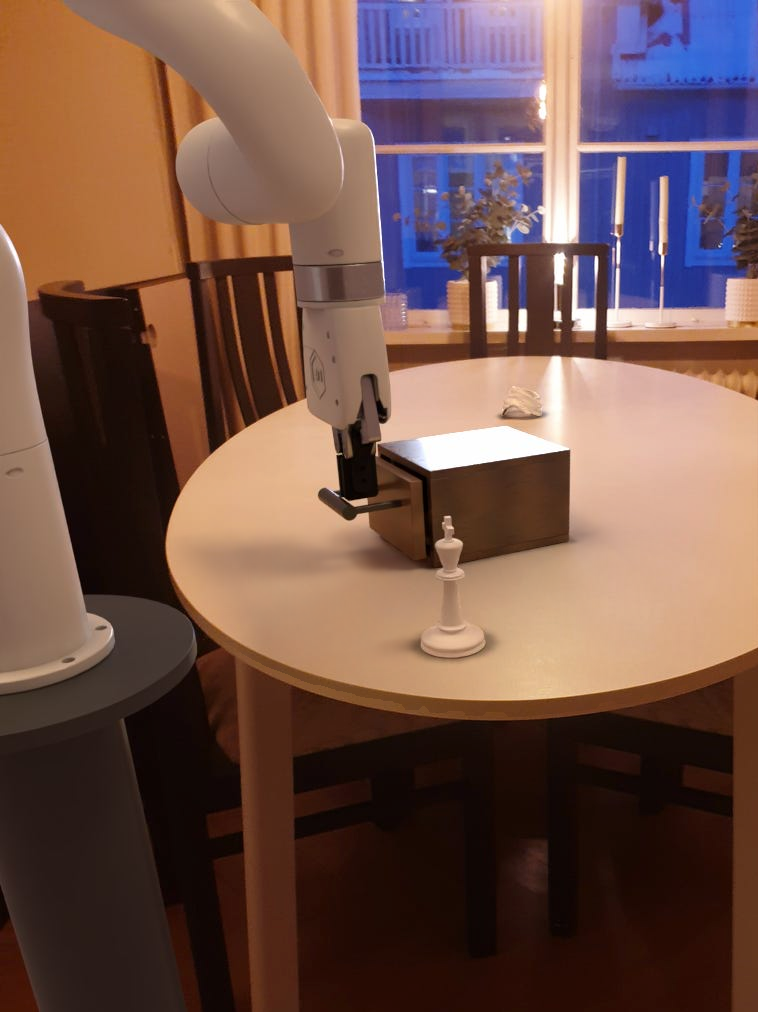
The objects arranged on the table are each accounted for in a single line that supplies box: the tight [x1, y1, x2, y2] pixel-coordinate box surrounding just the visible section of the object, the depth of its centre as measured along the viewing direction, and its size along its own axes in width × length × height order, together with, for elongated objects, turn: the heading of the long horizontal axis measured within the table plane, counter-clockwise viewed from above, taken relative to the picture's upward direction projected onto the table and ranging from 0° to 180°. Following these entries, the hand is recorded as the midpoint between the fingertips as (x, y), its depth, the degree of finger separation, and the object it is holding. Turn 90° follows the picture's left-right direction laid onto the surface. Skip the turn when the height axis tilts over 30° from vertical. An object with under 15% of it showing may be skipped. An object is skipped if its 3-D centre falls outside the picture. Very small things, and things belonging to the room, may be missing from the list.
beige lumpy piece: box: [500, 386, 544, 417], centre depth 147 cm, size 8×7×5 cm
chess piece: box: [420, 516, 486, 659], centre depth 68 cm, size 5×5×10 cm
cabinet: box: [376, 425, 571, 569], centre depth 92 cm, size 15×13×9 cm
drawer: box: [317, 455, 430, 561], centre depth 90 cm, size 19×11×7 cm, turn 117°
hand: (359, 496), depth 87 cm, fingers closed
